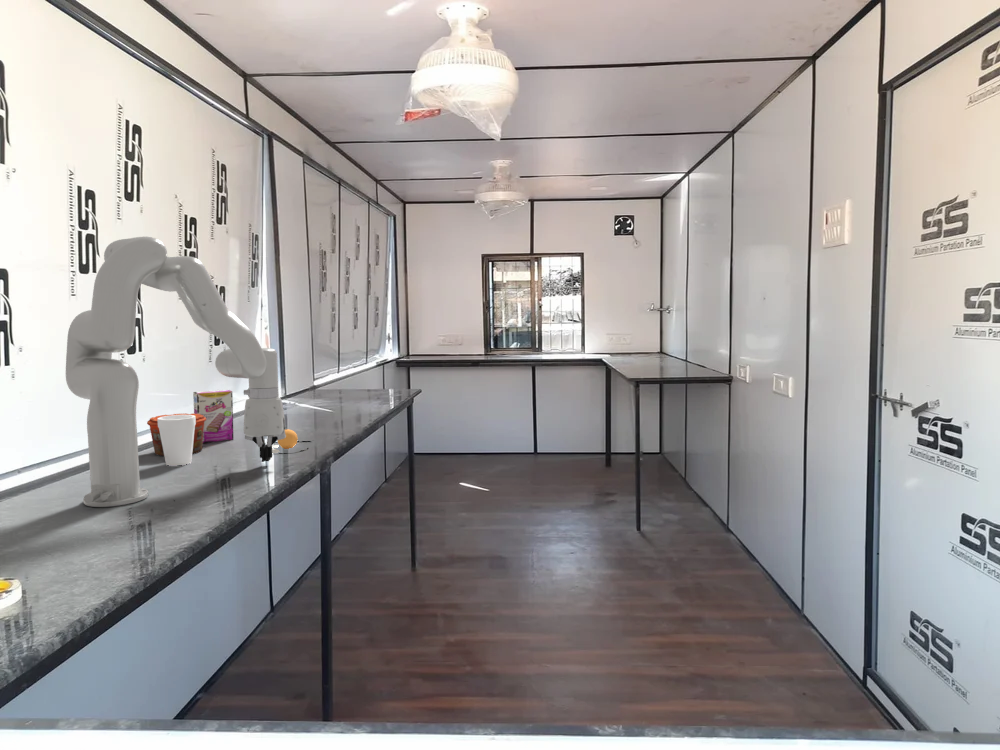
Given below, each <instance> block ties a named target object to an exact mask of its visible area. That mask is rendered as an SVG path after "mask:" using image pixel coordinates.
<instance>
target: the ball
mask: <svg viewBox="0 0 1000 750" xmlns="http://www.w3.org/2000/svg"><path fill="white" fill-rule="evenodd" d="M285 434H286V437H285V438H284V439H281V440H277V441H278V443H277V445H280V446H281V447H282V448H284V449H289V448H293V447H294V446H295V445H296V444H298V442H297V441H298V439H299V438H298V434H297V433H296V431H294V430H292V429H289V428H288V429H286V428H285Z"/></svg>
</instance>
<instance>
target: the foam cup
mask: <svg viewBox="0 0 1000 750" xmlns="http://www.w3.org/2000/svg"><path fill="white" fill-rule="evenodd" d="M170 415H171V416H164V417H159V418H157V420H158V428H159V431H160V436H161V441H162V446H163V451H164V456H163V457H164V460H165V466H167V465H169V466H168V467H178V466H177V465H182V466H187V465H190V464H191V463H192V460H193V454H192V451H193V441H194V430H195V425H196V418H195V416H194V415H173V414H170ZM189 463H190V464H189ZM186 464H187V465H186Z"/></svg>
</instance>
